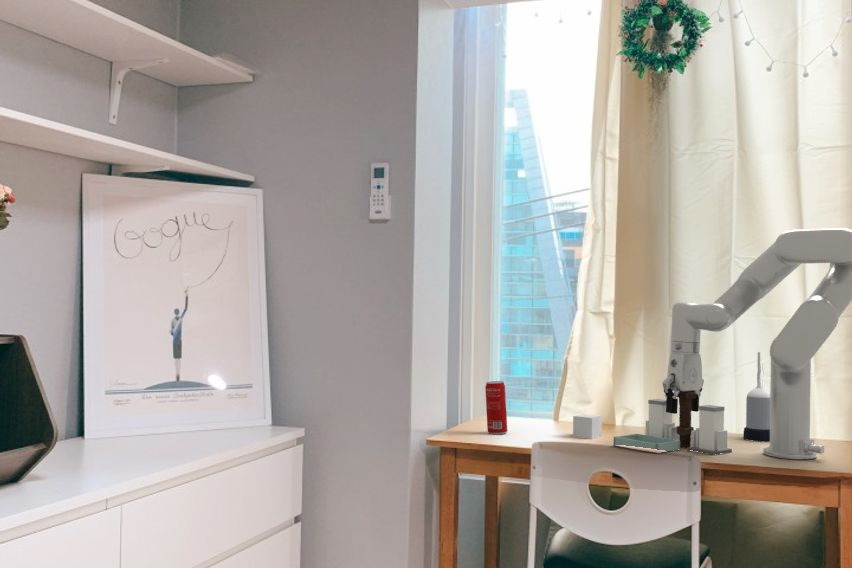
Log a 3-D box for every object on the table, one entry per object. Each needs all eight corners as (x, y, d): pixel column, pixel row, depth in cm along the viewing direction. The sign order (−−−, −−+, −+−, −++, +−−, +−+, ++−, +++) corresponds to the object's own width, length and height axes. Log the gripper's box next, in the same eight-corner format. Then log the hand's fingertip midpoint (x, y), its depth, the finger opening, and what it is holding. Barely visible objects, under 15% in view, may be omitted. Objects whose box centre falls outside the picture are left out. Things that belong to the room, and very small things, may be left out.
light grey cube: (601, 436, 251) (602, 415, 251) (591, 439, 246) (592, 418, 246) (583, 434, 254) (583, 413, 254) (572, 436, 250) (573, 415, 250)
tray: (680, 450, 230) (680, 440, 230) (657, 454, 223) (657, 444, 223) (636, 442, 240) (636, 433, 240) (613, 446, 234) (613, 436, 234)
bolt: (695, 449, 231) (696, 392, 231) (676, 448, 232) (676, 392, 232) (693, 445, 237) (694, 390, 237) (674, 445, 238) (674, 389, 238)
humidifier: (760, 436, 255) (761, 350, 256) (780, 440, 247) (780, 352, 248) (737, 437, 253) (738, 351, 253) (756, 442, 245) (757, 352, 245)
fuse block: (731, 452, 228) (732, 406, 228) (714, 455, 223) (714, 408, 223) (658, 439, 246) (658, 398, 246) (640, 442, 241) (640, 399, 241)
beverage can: (510, 434, 252) (511, 382, 252) (490, 435, 250) (491, 382, 250) (501, 431, 257) (502, 380, 258) (481, 432, 255) (482, 380, 255)
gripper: (678, 350, 226) (675, 415, 226) (715, 349, 237) (712, 412, 237) (653, 347, 232) (651, 411, 232) (691, 347, 243) (689, 408, 243)
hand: (682, 411), depth 235 cm, fingers open, 9 cm apart
